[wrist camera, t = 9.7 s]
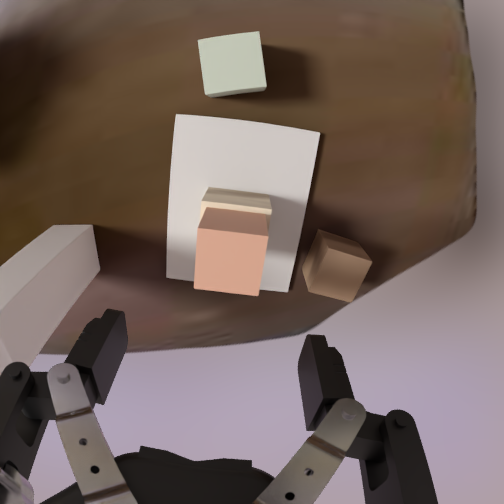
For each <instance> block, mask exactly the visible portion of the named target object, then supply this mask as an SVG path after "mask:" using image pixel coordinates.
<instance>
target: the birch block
mask: <svg viewBox="0 0 504 504" xmlns="http://www.w3.org/2000/svg"><path fill="white" fill-rule="evenodd" d="M206 207H212V208H220V209H229V210H237V211H245V212H253V213H261V214H265V216H266V223H267V229H268V230H269V224H270V218H271V212H272V207H271V203H270V198H269V195H268V194H261V193H254V192H246V191H238V190H230V189H222V188H213V187H208V189H207V191H206V193H205V195H204V197H203V199H202V201H201V211H200V221H201V219H202V216H203V214H204V212H205V210H206Z"/></svg>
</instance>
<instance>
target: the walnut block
mask: <svg viewBox="0 0 504 504" xmlns="http://www.w3.org/2000/svg"><path fill="white" fill-rule="evenodd" d="M371 264H372V260H371V259H370V258H369V256H368V255H367V254H366V252H365V251H364V250H363V248H362V247H361V246H360V244H359V243H358V242H356V241H353V240H350V239H347V238H344V237H341V236H338V235H335V234H332V233H329V232H326V231H323V230H320V229H318V231H317V233H316V236H315V238H314V240H313V243H312V245H311V248H310V250H309V252H308V255H307V257H306V259H305V262H304V264H303V266H302V271H303V274H304V278H305V281H306V284H307V287H308V291H309V292H312V293H316V294H320V295H324V296H328V297H332V298H336V299H340V300H344V301H348V302H352V301H353V299H354V297H355V295H356V293H357V291H358V289H359V287H360V285H361V284H362V282H363V280H364V278H365V276H366V274H367V272H368V270H369V268H370V266H371Z"/></svg>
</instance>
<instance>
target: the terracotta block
mask: <svg viewBox="0 0 504 504" xmlns="http://www.w3.org/2000/svg"><path fill="white" fill-rule="evenodd" d="M268 237H269V236H268V229H267V223H266V216H265V214H261V213H253V212H245V211H237V210H229V209H220V208H212V207H206V210H205V212H204V214H203V216H202V219H201V221H200V223H199V226H198V229H197V243H196V259H195V276H194V289H202V290H210V291H218V292H227V293H235V294H244V295H253V296H258V295H259V289H260V283H261V278H262V272H263V266H264V260H265V254H266V248H267V243H268Z"/></svg>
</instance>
